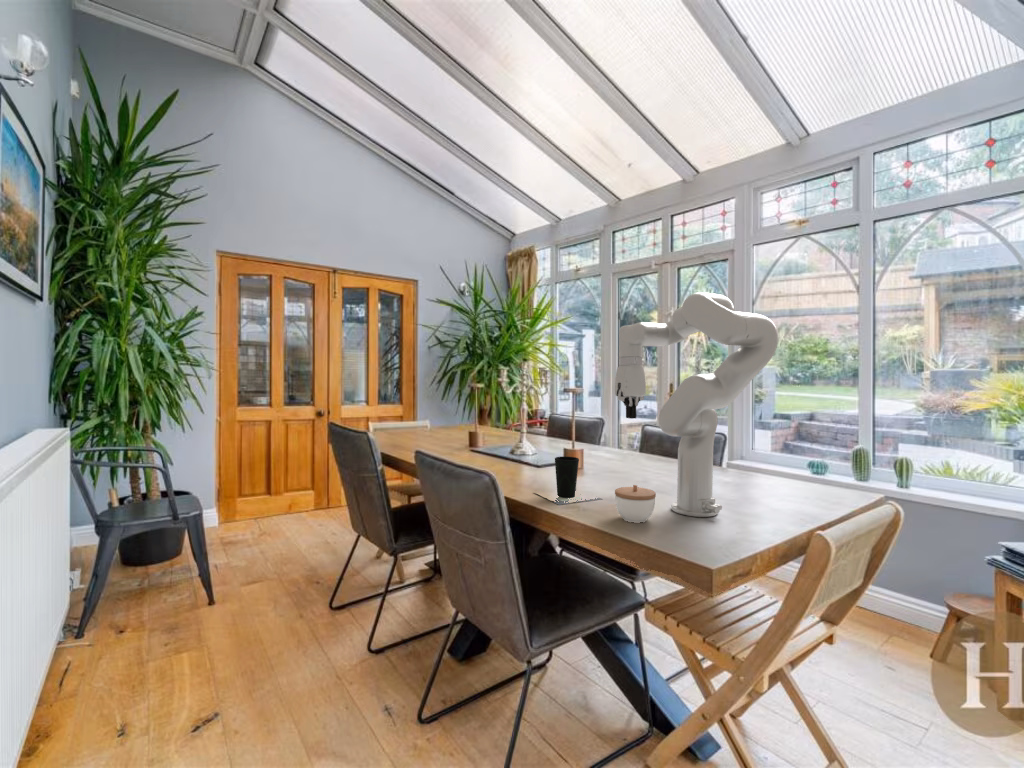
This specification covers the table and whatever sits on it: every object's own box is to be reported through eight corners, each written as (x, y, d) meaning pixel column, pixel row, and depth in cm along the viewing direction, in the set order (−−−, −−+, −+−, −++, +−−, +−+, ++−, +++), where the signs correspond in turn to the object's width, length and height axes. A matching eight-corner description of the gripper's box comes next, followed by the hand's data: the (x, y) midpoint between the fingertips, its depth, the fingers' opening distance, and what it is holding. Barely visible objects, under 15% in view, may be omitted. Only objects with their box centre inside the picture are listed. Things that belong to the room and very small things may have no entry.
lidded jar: (632, 528, 129) (633, 491, 128) (606, 517, 138) (606, 483, 138) (663, 522, 134) (664, 487, 133) (636, 512, 143) (637, 479, 143)
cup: (576, 499, 156) (577, 460, 155) (552, 497, 157) (553, 459, 157) (579, 494, 163) (580, 457, 163) (556, 492, 165) (556, 455, 165)
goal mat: (602, 499, 157) (602, 498, 157) (558, 505, 150) (558, 504, 150) (573, 488, 171) (573, 487, 171) (532, 493, 164) (532, 492, 164)
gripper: (639, 363, 173) (639, 416, 173) (605, 362, 166) (606, 418, 166) (655, 362, 167) (655, 418, 167) (621, 362, 159) (621, 419, 159)
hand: (631, 418), depth 166 cm, fingers closed
